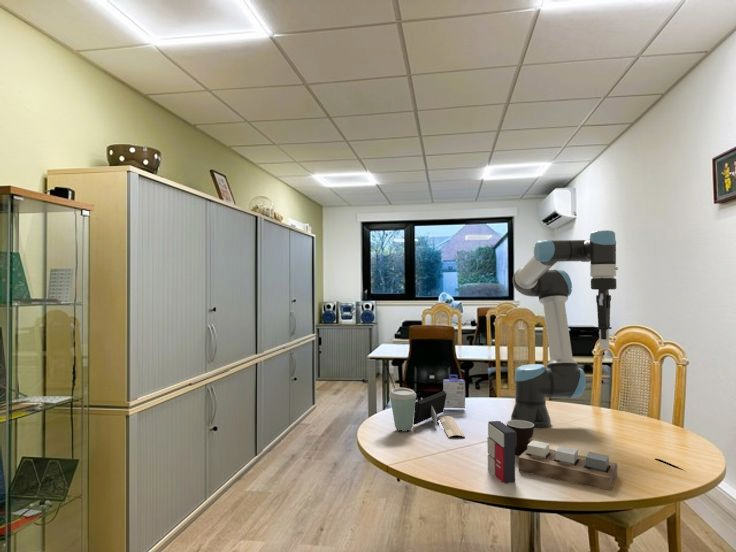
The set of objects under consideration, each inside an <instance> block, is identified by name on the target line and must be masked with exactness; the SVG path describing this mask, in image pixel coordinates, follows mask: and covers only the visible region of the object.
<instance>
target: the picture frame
mask: <svg viewBox="0 0 736 552" xmlns="http://www.w3.org/2000/svg"><path fill="white" fill-rule="evenodd" d="M446 395H447V394H446V393H445V391H443V390H442V391H440V392H437V393H435V394H432V395H430V396H428V397H425V398H422V399H419V400H416V402H415V410H414V419H413V425H414V426H415V424H416V425H418V424H421V423H422V422H424V421H426V420H429V419H432V421H433V423H434V426H435V427H438V423H437V420H438V415H440V414H443V413H444V410H445V408H444V406H445V400H446Z"/></svg>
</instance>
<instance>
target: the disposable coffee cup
mask: <svg viewBox="0 0 736 552" xmlns="http://www.w3.org/2000/svg"><path fill="white" fill-rule="evenodd" d="M388 396H389V398H390V404H391V411H392V415H393V422H394V427H395V429H398V430H397V431H399V430H402V431H401V432H408V431H407V430H409V431H411V430H412V429H413V425H414V424H413V422H414V412H415V402H417V400H416V399H417V393H416V392H415V390H414V389H411V388H407V387H394V388H392V389H390V393H389V394H388Z"/></svg>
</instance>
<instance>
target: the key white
mask: <svg viewBox="0 0 736 552" xmlns="http://www.w3.org/2000/svg"><path fill="white" fill-rule="evenodd" d="M549 449H550V443H547V442H542V441H537V440H532V441H531V442H530V443H529V444H528V445H527V453H528V454H531V455H532V456H533V457H538V458H542V459H546V455H547V454H548V453H549V452H550V450H549Z"/></svg>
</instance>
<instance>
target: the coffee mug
mask: <svg viewBox="0 0 736 552" xmlns="http://www.w3.org/2000/svg"><path fill="white" fill-rule="evenodd" d="M506 425H507V426H508V427H509V428H511V429H512V430H514V431H515V432H516V433H517V446H516V448H515V457H519V456H520V455H521V454H522V453H523V452H525V451H526V450H527V445H528V444H529V443H530V442H531V441H532V440H533V439H534V431H535V430H534V429H535V428H534V424H533V423H531V422H528V421H523V420H511V419H510V420H508V421H506ZM533 441H534V440H533Z"/></svg>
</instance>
